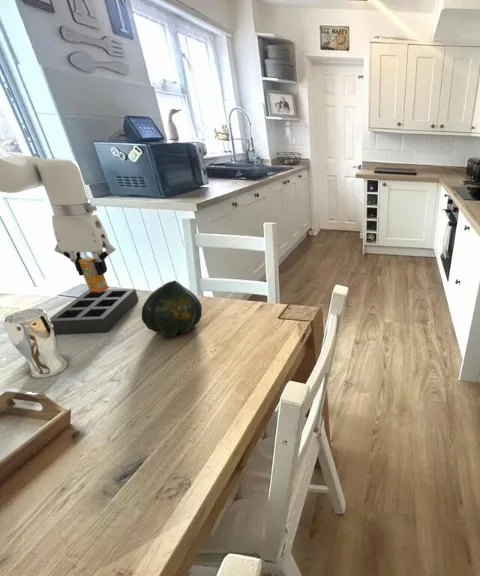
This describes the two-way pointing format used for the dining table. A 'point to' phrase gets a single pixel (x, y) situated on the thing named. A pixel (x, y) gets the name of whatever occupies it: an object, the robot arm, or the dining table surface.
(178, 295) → the squash
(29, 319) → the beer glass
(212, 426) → the dining table surface
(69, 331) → the holder
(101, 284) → the supplement box
